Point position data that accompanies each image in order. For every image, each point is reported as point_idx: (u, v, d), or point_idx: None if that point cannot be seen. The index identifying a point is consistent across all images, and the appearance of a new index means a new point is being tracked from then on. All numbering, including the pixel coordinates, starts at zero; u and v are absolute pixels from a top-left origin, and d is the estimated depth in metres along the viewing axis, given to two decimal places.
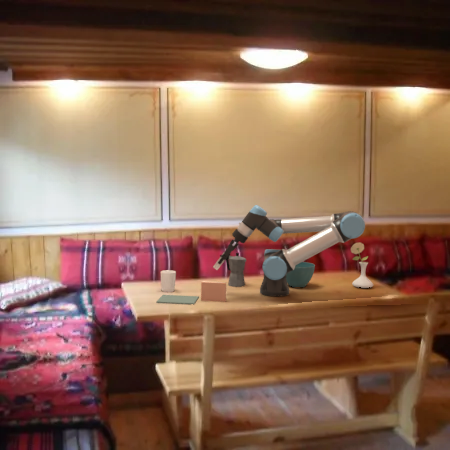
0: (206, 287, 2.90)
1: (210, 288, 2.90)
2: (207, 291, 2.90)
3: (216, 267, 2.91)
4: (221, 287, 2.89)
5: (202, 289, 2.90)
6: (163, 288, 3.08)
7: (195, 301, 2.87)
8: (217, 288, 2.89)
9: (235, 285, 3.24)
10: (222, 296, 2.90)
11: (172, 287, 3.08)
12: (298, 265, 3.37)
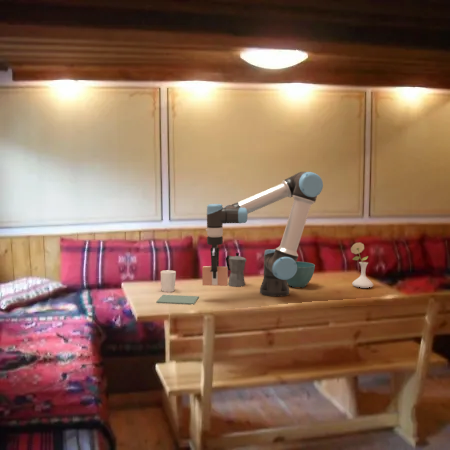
0: (207, 272, 2.89)
1: (211, 273, 2.89)
2: (208, 276, 2.89)
3: (215, 282, 2.89)
4: (222, 271, 2.88)
5: (203, 274, 2.90)
6: (163, 288, 3.08)
7: (195, 301, 2.87)
8: (218, 272, 2.89)
9: (235, 285, 3.24)
10: (223, 280, 2.89)
11: (172, 287, 3.08)
12: (298, 265, 3.37)
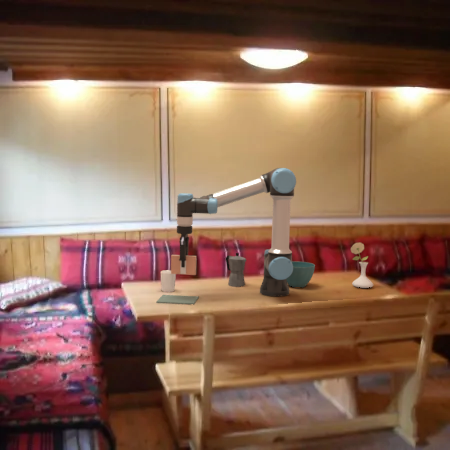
0: (176, 260, 2.91)
1: (180, 261, 2.91)
2: (177, 264, 2.91)
3: (183, 271, 2.91)
4: (191, 260, 2.90)
5: (172, 262, 2.92)
6: (163, 288, 3.08)
7: (195, 301, 2.87)
8: (187, 261, 2.91)
9: (235, 285, 3.24)
10: (192, 269, 2.91)
11: (172, 287, 3.08)
12: (298, 265, 3.37)
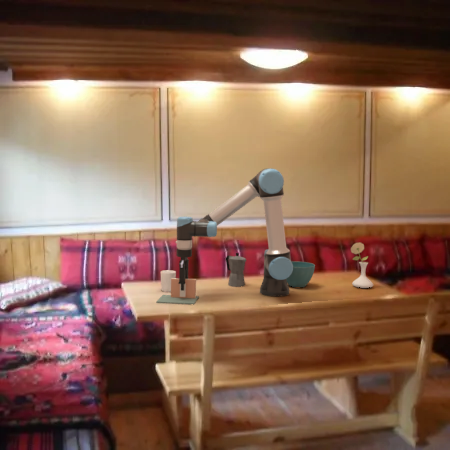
0: (176, 284, 2.93)
1: None
2: (177, 288, 2.93)
3: (183, 294, 2.91)
4: (191, 284, 2.92)
5: (172, 286, 2.93)
6: (163, 288, 3.08)
7: (195, 301, 2.87)
8: (187, 285, 2.92)
9: (235, 285, 3.24)
10: (192, 293, 2.92)
11: None
12: (298, 265, 3.37)
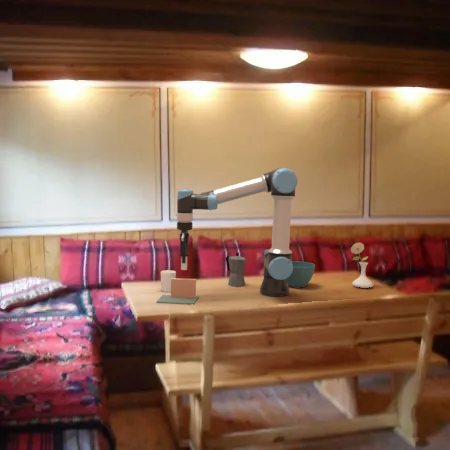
0: (176, 284, 2.93)
1: (180, 285, 2.92)
2: (177, 288, 2.93)
3: (184, 267, 2.92)
4: (191, 284, 2.92)
5: (172, 286, 2.93)
6: (163, 288, 3.08)
7: (195, 301, 2.87)
8: (187, 285, 2.92)
9: (235, 285, 3.24)
10: (192, 293, 2.92)
11: None
12: (298, 265, 3.37)
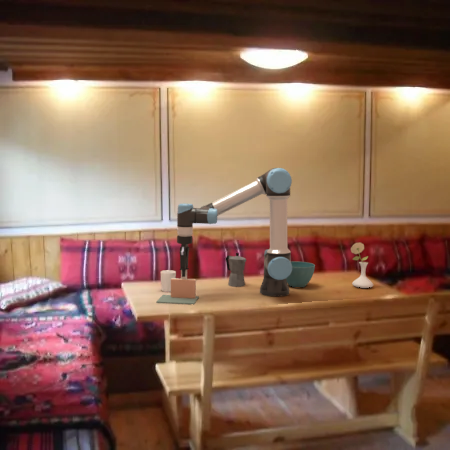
0: (175, 284, 2.92)
1: (179, 285, 2.92)
2: (177, 288, 2.92)
3: None
4: (190, 284, 2.91)
5: (172, 286, 2.92)
6: (163, 288, 3.08)
7: (195, 301, 2.87)
8: (186, 285, 2.91)
9: (235, 285, 3.24)
10: (191, 293, 2.92)
11: None
12: (298, 265, 3.37)
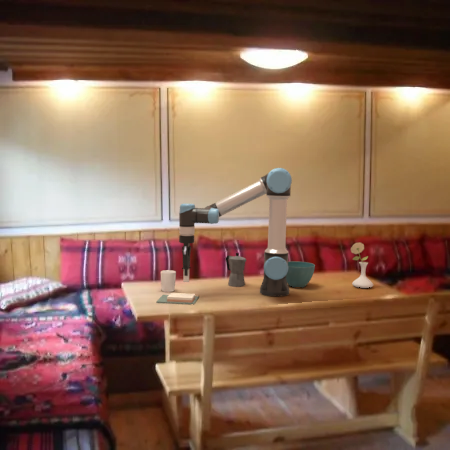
0: None
1: None
2: None
3: (186, 280, 2.98)
4: None
5: None
6: (163, 288, 3.08)
7: (195, 301, 2.87)
8: None
9: (235, 285, 3.24)
10: None
11: (172, 287, 3.08)
12: (298, 265, 3.37)
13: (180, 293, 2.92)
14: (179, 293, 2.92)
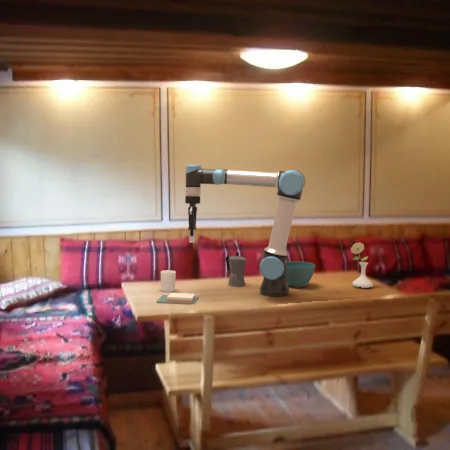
0: None
1: None
2: None
3: (192, 240, 3.01)
4: None
5: None
6: (163, 288, 3.08)
7: (195, 301, 2.87)
8: None
9: (235, 285, 3.24)
10: None
11: (172, 287, 3.08)
12: (298, 265, 3.37)
13: (180, 293, 2.92)
14: (179, 293, 2.92)
